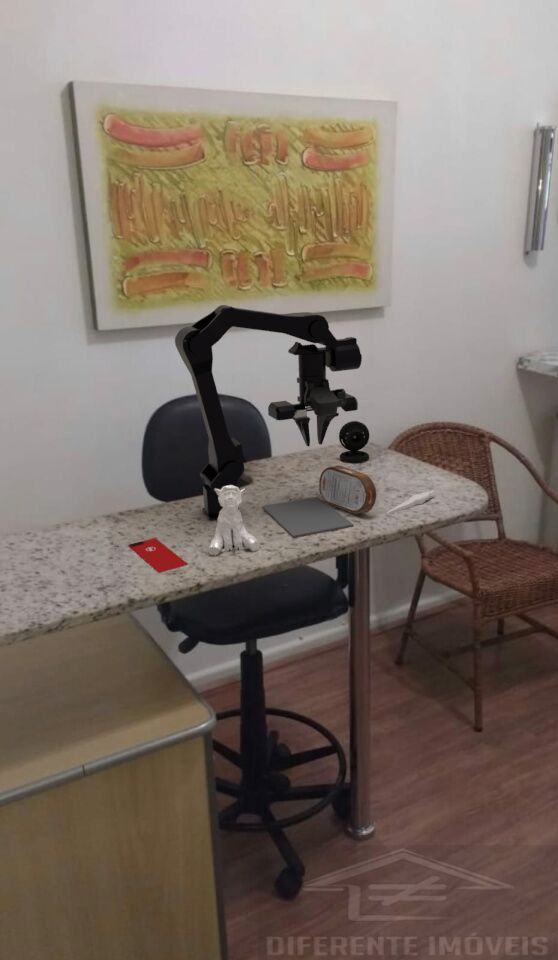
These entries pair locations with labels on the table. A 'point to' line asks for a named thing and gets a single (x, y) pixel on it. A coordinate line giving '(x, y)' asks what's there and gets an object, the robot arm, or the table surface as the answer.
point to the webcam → (354, 442)
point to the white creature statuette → (231, 524)
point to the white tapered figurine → (413, 501)
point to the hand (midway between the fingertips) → (314, 445)
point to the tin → (347, 489)
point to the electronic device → (157, 555)
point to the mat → (306, 516)
